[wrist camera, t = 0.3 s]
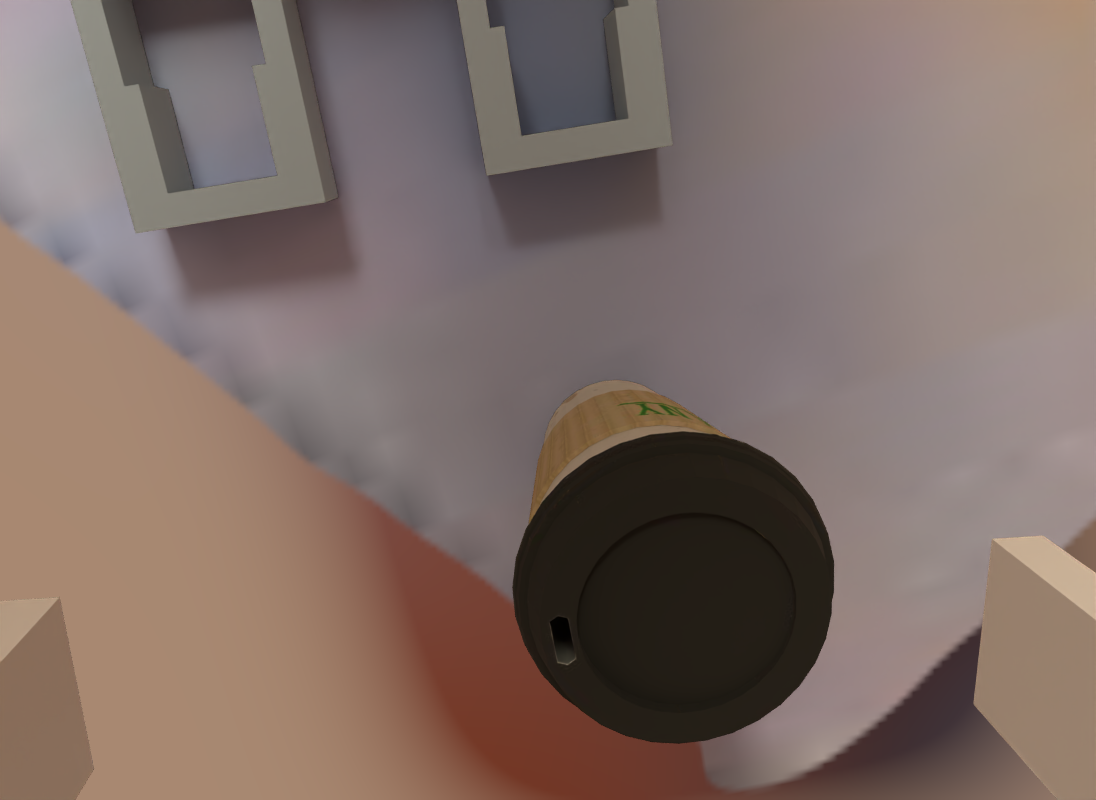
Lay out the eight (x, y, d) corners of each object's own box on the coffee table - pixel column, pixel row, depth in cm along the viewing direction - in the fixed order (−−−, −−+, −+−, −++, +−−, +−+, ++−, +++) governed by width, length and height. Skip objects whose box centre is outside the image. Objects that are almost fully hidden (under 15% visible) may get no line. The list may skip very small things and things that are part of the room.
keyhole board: (82, -76, 33) (43, -98, 30) (620, -159, 34) (634, -189, 31) (164, 225, 37) (135, 233, 33) (656, 145, 37) (672, 145, 34)
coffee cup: (735, 526, 42) (868, 727, 28) (524, 568, 42) (548, 792, 27) (707, 319, 39) (840, 421, 25) (482, 361, 39) (484, 490, 25)
